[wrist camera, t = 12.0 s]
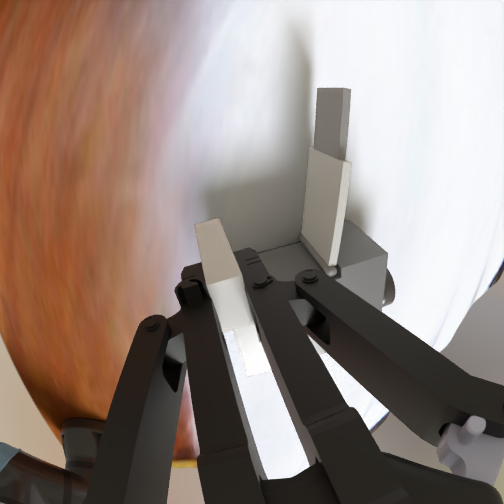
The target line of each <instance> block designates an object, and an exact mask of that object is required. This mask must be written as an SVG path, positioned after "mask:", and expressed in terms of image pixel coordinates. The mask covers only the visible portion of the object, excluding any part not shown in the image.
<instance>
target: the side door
mask: <svg viewBox="0 0 504 504" xmlns="http://www.w3.org/2000/svg"><path fill="white" fill-rule="evenodd" d="M350 98H351V89H347V88H317V103H316V120H315V135H314V147H309V154H308V167H307V179H306V190H305V201H304V212H303V222H302V232H301V234H300V235H299V239H300V240H301V242H302V243H303V244H304V246H305V247H306V248H307V249H308V251H309V252H310V253H311V254H312V256H313V257H314V258H315V260H316V261H317V262H318V264H319V265H320V266H321V267H322V269H323V270H324V271H325V273H326V274H327V275H328V276H330V277H333V276H335V275H336V273H337V269H336V268H335V267H334V265H336V264H337V258H338V253H339V247H340V242H341V236H342V230H343V223H344V217H345V210H346V204H347V196H348V189H349V181H350V173H351V165H352V163H351V162H349V161H347V160H345V157H346V147H347V137H348V125H349V112H350Z"/></svg>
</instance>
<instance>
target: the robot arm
mask: <svg viewBox="0 0 504 504" xmlns="http://www.w3.org/2000/svg"><path fill="white" fill-rule="evenodd" d="M195 230H196V236H197V241H198V246H199V251H200V257H201V263H197V264H194V265H190V266H187V267H184V269H183V271H182V273H181V278H182V282H180V283H179V284H178V285H177V286H176V287H175V294H176V296H177V298H178V301H179V303H180V306H181V309H180V311H179V312H177V313H176V314H175V315H173V316H171V317H169V318H168V319H166V318H165V317H164V316H162V315H152V316H149V317H147V318H145V319H144V320H143V321H142V322H141V323H140V325H139V326H138V329H137V331H136V334H135V336H134V339H133V342H132V345H131V347H130V350H129V353H128V356H127V358H126V361H125V364H124V367H123V370H122V373H121V376H120V379H119V382H118V385H117V388H116V391H115V394H114V397H113V400H112V403H111V406H110V409H109V413H108V416H107V419H106V422H105V423H104V422H101V421H97V420H92V419H84V418H74V419H69V420H66V421H65V422H63V424H62V428H61V439H62V444H63V449H64V453H65V458H66V467H65V469H63V468H60V467H58V466H55V465H53V464H50V463H48V462H46V461H43V460H41V459H39V458H36V457H34V456H32V455H30V454H28V453H25V452H23V451H22V450H21V449H17V448H15V447H12V446H10V445H8V444H6V443H3V442H0V504H167V496H168V488H169V480H170V472H171V465H172V458H173V451H174V444H175V437H176V430H177V424H178V417H179V411H180V405H181V399H182V393H183V387H184V381H185V375H186V370H187V369H188V377H189V385H190V392H191V399H192V405H193V412H194V418H195V424H196V430H197V436H198V442H199V447H200V455H199V456H198V457H197V466H198V472H199V477H200V482H201V487H202V492H203V497H204V501H205V504H503V501H502V498H501V496H500V494H499V492H498V491H497V490H496V488H494V487H493V486H494V483H495V481H496V478H497V475H498V472H499V470H500V467H501V464H502V461H503V458H504V386H503V385H500V384H496V383H493V382H490V381H487V380H484V379H480V378H477V377H474V376H471V375H469V374H468V373H466V372H465V371H464V370H462V369H461V368H459V367H458V366H457V365H455V364H454V363H453V362H451V361H450V360H449V359H447V358H446V357H444V356H443V355H442V354H440V353H439V352H438V351H436V350H435V349H433V348H432V347H431V346H429V345H428V344H426V343H425V342H424V341H422V340H421V339H419V338H418V337H417V336H415V335H414V334H412V333H411V332H409V331H408V330H407V329H405V328H404V327H402V326H401V325H400V324H398V323H397V322H395V321H394V320H392V319H391V318H390V317H388V316H387V315H385V314H384V313H382V312H381V311H379V310H378V309H377V308H375V307H374V306H372V305H371V304H369V303H368V302H366V301H365V300H364V299H362V298H361V297H359V296H358V295H356V294H355V293H353V292H352V291H350V290H349V289H348V288H346V287H345V286H343V285H342V284H340V283H339V282H337V281H336V280H334V279H333V278H331V277H330V276H328V275H327V274H325V273H324V272H322V271H320V270H318V269H306V270H303V271H301V272H299V273H298V274H297V275H296V276H295V281H277V280H276V279H275V278H274V277H273V276H272V275H269V273H268V271H267V269H266V268H265V266H264V264H263V262H262V261H261V259H260V257H259V255H258V253H257V252H256V251H255V250H253V249H251V248H247V249H243V250H240V251H236V252H232V249H231V247H230V244H229V242H228V239H227V237H226V234H225V232H224V229H223V227H222V225H221V222H220V220H219V218H216V219H212V220H209V221H205V222H202V223H198V224H195ZM254 323H255V327H256V331H257V335H258V339H259V342H261V344H262V346H263V349H264V352H265V354H266V357H267V359H268V362H269V364H270V367H271V369H272V372H273V375H274V377H275V380H276V382H277V385H278V387H279V390H280V392H281V395H282V397H283V400H284V402H285V405H286V407H287V410H288V412H289V414H290V417H291V419H292V422H293V424H294V427H295V429H296V432H297V434H298V436H299V439H300V441H301V444H302V446H303V448H304V451H305V453H306V456H307V459H308V462H309V465H310V467H309V468H307V469H305V470H304V471H302V472H301V473H299V474H297V475H296V476H294V477H291V478H284V479H270V480H268V479H267V476H266V474H265V472H264V469H263V466H262V463H261V460H260V457H259V454H258V451H257V447H256V444H255V441H254V438H253V435H252V431H251V428H250V425H249V422H248V418H247V415H246V412H245V408H244V405H243V402H242V398H241V395H240V391H239V388H238V384H237V381H236V377H235V374H234V370H233V366H232V363H231V359H230V355H229V352H228V348H227V344H226V341H225V338H224V335H223V333H224V332H227V331H231V330H234V329H237V328H241V327H244V326H247V325H251V324H254ZM307 334H308V335H309V336H310V337H311V338H312V339H313V340H314V341H315V342H316V343H317V344H318V345H319V346H320V347H321V348H322V349H323V350H325V351H326V352H327V353H328V354H329V355H330V356H331V357H332V358H333V359H334V360H335V361H336V362H337V363H338V364H339V365H340V366H342V367H343V368H344V369H345V370H346V371H347V372H348V373H349V374H350V375H351V376H352V377H353V378H354V379H356V380H357V381H358V382H359V383H360V384H361V385H362V386H363V387H364V388H365V389H366V390H367V391H369V392H370V393H371V394H372V395H373V396H374V397H375V398H376V399H377V400H378V401H379V402H380V403H382V404H383V405H384V406H385V407H386V408H387V409H388V410H389V411H390V412H392V413H393V414H394V415H395V416H396V417H397V418H398V419H399V420H400V421H401V422H403V423H404V424H405V425H406V426H407V427H408V428H409V429H410V430H411V431H413V432H414V433H415V434H416V435H418V436H419V437H420V438H421V439H423V440H425V441H426V442H428V443H430V444H432V445H433V446H436V447H437V455H438V458H439V461H440V462H441V464H444V465H446V466H448V467H449V468H450V470H451V471H452V473H453V474H451V473H447V472H444V471H441V470H437V469H434V468H431V467H428V466H424V465H421V464H418V463H415V462H412V461H409V460H407V459H404V458H401V457H398V456H395V455H392V454H390V453H385V452H381V451H380V449H379V447H378V445H377V444H376V442H375V440H374V438H373V437H372V435H371V433H370V431H369V430H368V428H367V426H366V424H365V423H364V421H363V419H362V417H361V416H360V414H359V413H358V411H357V410H356V409H355V408H354V407H349V406H348V405H347V403H346V402H345V400H344V398H343V397H342V395H341V393H340V391H339V389H338V388H337V386H336V384H335V382H334V381H333V379H332V377H331V375H330V373H329V372H328V370H327V368H326V366H325V365H324V363H323V361H322V359H321V358H320V356H319V354H318V352H317V351H316V349H315V347H314V345H313V344H312V342H311V340H310V338H309V336H308V335H307Z"/></svg>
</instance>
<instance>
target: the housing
mask: <svg viewBox="0 0 504 504" xmlns="http://www.w3.org/2000/svg"><path fill="white" fill-rule="evenodd" d="M258 255H259V257H260V259H261V261H262V262H263V264H264V266H265V268H266V269H267V271H268V273H269V275H272V276H273V277H274V278H275V279H276V280H277V281H295V276H296V275H297V274H298V273H299V272H301V271H303V270H306V269H318V270H320V271H322V272H324V273H325V271H324V270H323V269H322V267H321V266H320V265H319V264H318V262H317V261H316V260H315V258H314V257H313V256H312V254H311V253H310V252H309V251H308V249H307V248H306V247H305V246H304V244H303V243H302V242H299V243H295V244H291V245H287V246H284V247H280V248H276V249H272V250H269V251H265V252H261V253H258ZM387 259H388V253H387V252H386V251H385V250H384V249H382V248H381V247H380V246H379V245H378V244H377V243H376V242H374V241H373V240H372V239H371V238H370V237H369V236H367V235H366V234H365V233H364V232H363V231H362V230H360V229H359V228H358V227H357V226H356V225H354V224H353V223H352V222H351V221H350V220H349V221H345V222H344V223H343V230H342V236H341V242H340V247H339V253H338V258H337V264H336V265H334V267H335V268H336V269H337V273H336V275H335V276H333V277H331V278H333V279H334V280H336V281H337V282H339V283H340V284H342V285H343V286H345V287H346V288H348V289H349V290H350V291H352V292H353V293H355V294H356V295H358V296H359V297H361V298H362V299H364V300H365V301H366V302H368V303H369V304H371V305H372V306H374V307H375V308H377V309H378V310H379V311H381V312H382V307H384V306H387V305H389V304H391V303H392V302H393V301H394V298H395V285H394V281H393V278H392V276H391V274H390V272H389V270H388V269H387ZM325 274H326V273H325ZM233 332H234V336H235V339H236V342H237V345H238V348H239V351H240V355H241V358H242V361H243V364H244V367H245V370H246V373H247V376H248V377H249V376H252V375H256V374H259V373H263V372H266V371H270V370H272V369H271V367H270V364H269V362H268V359H267V357H266V354H265V352H264V349H263V346H262V344H261V342H259V339H258V335H257V331H256V327H255V323H254V324H251V325H247V326H244V327H241V328H237V329H234V330H233ZM307 335H308V334H307ZM308 336H309V335H308ZM309 338H310V340H311V342H312V344H313V345H314V347H315V349H316V351H317V352H318V354H319V355H320V354H323V353H326V351H325V350H323V349H322V348H321V347H320V346H319V345H318V344H317V343H316V342H315V341H314V340H313V339H312V338H311V337H310V336H309Z"/></svg>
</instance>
